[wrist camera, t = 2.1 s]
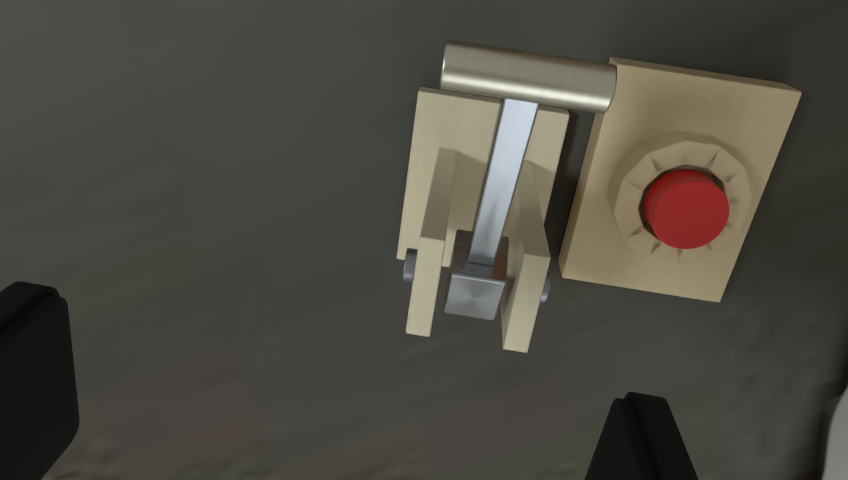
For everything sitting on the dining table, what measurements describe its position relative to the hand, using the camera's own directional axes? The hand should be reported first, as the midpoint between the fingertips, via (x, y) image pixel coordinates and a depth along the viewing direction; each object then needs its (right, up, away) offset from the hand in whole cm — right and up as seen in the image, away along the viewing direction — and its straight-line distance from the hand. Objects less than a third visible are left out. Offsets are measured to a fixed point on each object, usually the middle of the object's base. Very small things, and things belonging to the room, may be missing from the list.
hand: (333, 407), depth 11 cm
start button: (+14, +5, +21) cm, 26 cm away
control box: (+15, +6, +24) cm, 29 cm away
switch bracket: (+5, +6, +26) cm, 27 cm away
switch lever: (+4, +5, +13) cm, 15 cm away
